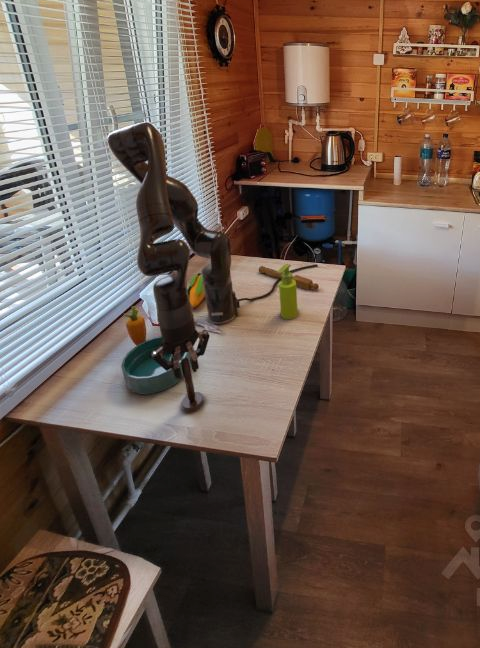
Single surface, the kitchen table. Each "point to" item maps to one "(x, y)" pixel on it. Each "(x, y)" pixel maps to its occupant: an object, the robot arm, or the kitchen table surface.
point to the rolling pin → (299, 280)
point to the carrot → (136, 327)
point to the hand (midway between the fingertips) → (187, 373)
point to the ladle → (190, 390)
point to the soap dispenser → (287, 294)
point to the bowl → (148, 368)
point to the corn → (196, 290)
